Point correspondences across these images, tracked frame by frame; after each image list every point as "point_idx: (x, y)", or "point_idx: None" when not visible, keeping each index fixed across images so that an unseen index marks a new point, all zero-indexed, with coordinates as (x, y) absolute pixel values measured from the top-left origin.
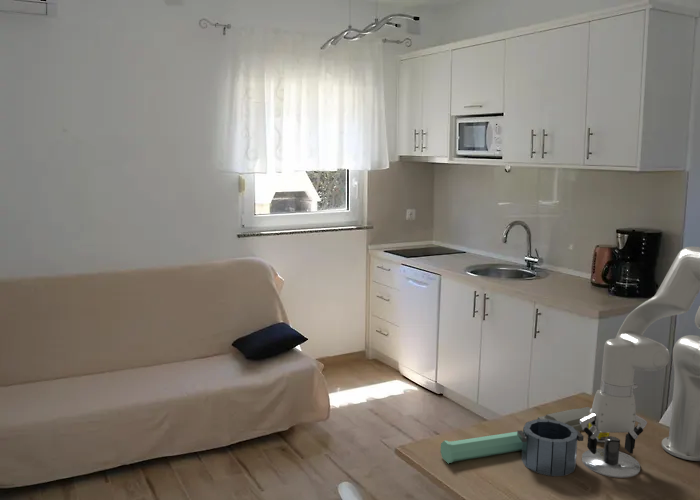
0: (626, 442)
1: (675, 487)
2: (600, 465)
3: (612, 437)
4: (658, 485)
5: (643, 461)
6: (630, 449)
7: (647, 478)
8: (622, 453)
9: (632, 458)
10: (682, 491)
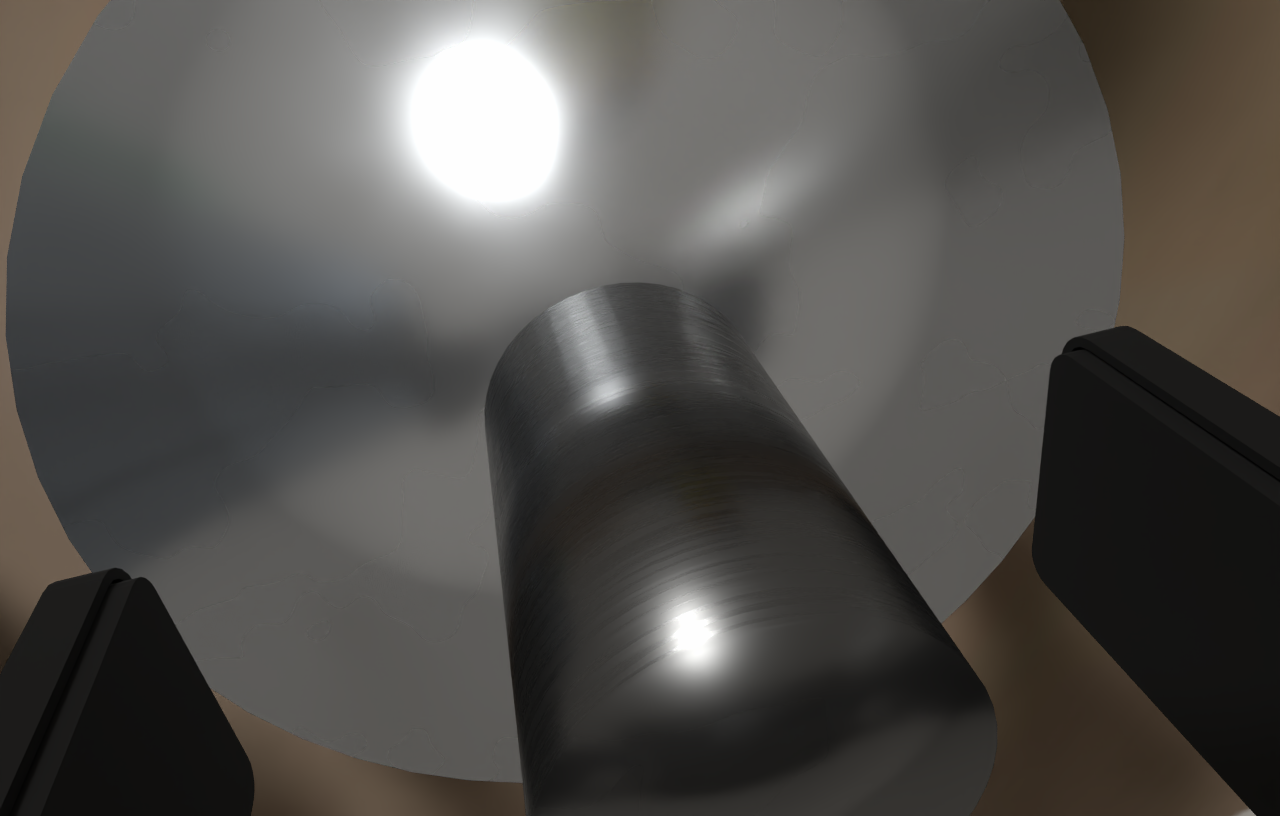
0: (1176, 503)
1: (1176, 760)
2: (391, 591)
3: (830, 694)
4: (1022, 772)
5: (1234, 200)
6: (1091, 630)
7: (985, 671)
8: (1002, 23)
9: (1085, 226)
10: (1191, 804)
